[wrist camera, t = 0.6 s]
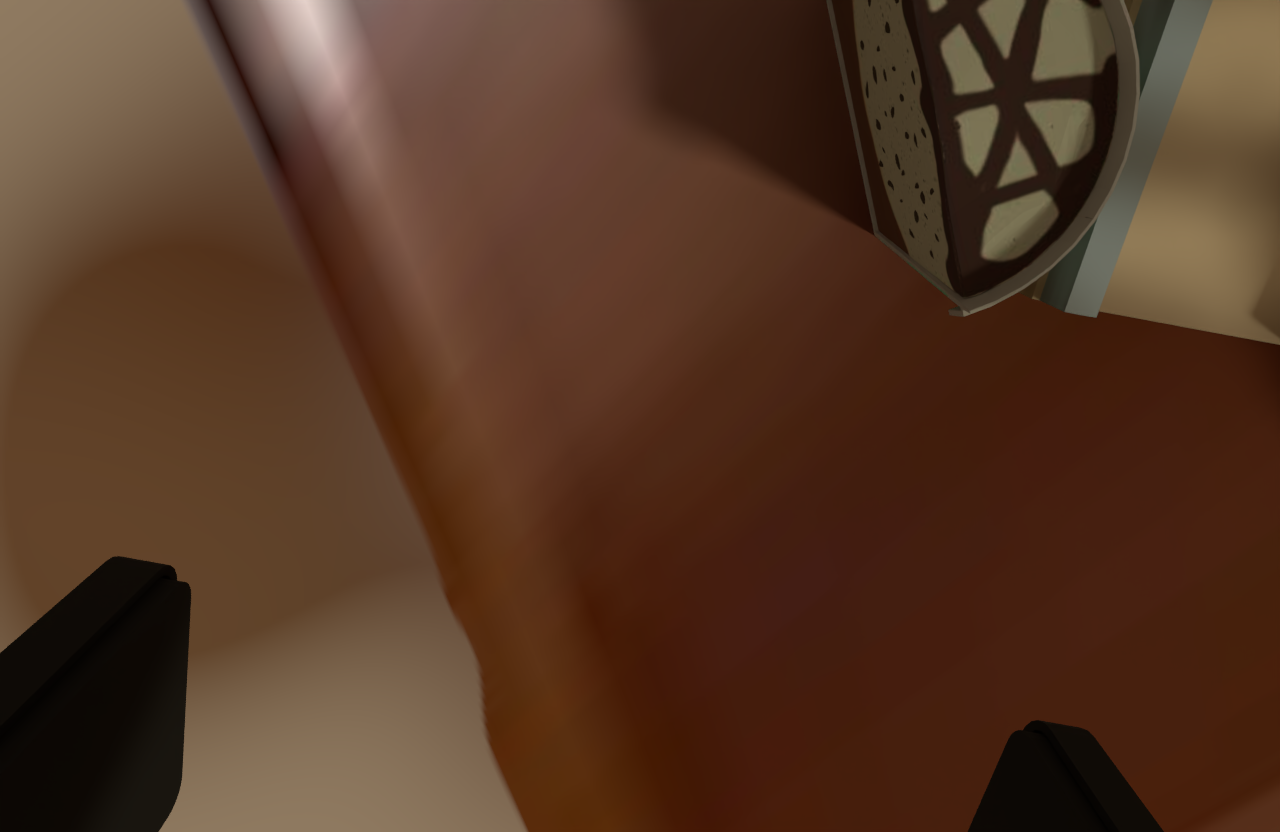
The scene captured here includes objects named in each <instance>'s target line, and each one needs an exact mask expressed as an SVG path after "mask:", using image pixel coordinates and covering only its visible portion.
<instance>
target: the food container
mask: <svg viewBox="0 0 1280 832" xmlns="http://www.w3.org/2000/svg"><path fill="white" fill-rule="evenodd" d="M826 2H827V7H828V12H829V16H830V21H831V26H832V31H833V36H834V41H835V46H836V50H837V55H838V60H839V65H840V70H841V75H842V80H843V84H844V89H845V94H846V99H847V104H848V109H849V114H850V118H851V123H852V128H853V133H854V138H855V143H856V148H857V152H858V157H859V162H860V167H861V172H862V177H863V182H864V186H865V191H866V196H867V201H868V206H869V211H870V216H871V220H872V225H873V230H874V235H875V236H876V237H877V238H878V239H879V240H880V241H882V242H883V243H884V244H885V245H886V246H888V247H889V248H890V249H891V250H892V251H894V252H895V253H896V254H897V255H898V256H900V257H901V258H902V259H903V260H904V261H906V262H907V263H908V264H909V265H910V266H912V267H913V268H914V269H915V270H916V271H918V272H919V273H920V274H921V275H922V276H923V277H925V278H926V279H927V280H928V281H929V282H931V283H932V284H933V285H934V286H935V287H937V288H938V289H939V290H940V291H941V292H943V293H944V294H945V295H946V296H947V297H949V298H950V299H951V300H952V301H953V302H955V303H956V304H957V305H958V307H955V308H953V309H950V310H948V311H949V314H950V315H954V316H963V317H964V316H967V315H969V314H972V313H975V312H978V311H980V310H983V309H986V308H988V307H991V306H993V305H995V304H997V303H999V302H1001V301H1002V300H1004V299H1006V298H1008V297H1010V296H1012V295H1014V294H1016V293H1017V292H1019V291H1021V290H1023V289H1025V288H1026V287H1027V286H1029V285H1030V284H1032V283H1033V282H1034V281H1036V280H1037V279H1038V278H1040V277H1041V276H1043V275H1044V274H1045V273H1047V272H1048V271H1049V270H1051V269H1052V268H1053V267H1054V266H1055V265H1056V264H1057V263H1058V262H1059V261H1060V260H1061V259H1062V258H1063V257H1064V256H1066V255H1067V254H1068V253H1069V252H1070V251H1071V250H1072V249H1073V248H1074V247H1075V246H1076V245H1077V243H1078V242H1079V241H1080V240H1081V238H1082V237H1083V236H1084V235H1085V233H1086V232H1087V231H1088V230H1089V228H1090V227H1091V226H1092V225H1093V223H1094V222H1095V221H1096V219H1097V218H1098V216H1099V214H1100V213H1101V211H1102V209H1103V208H1104V206H1105V204H1106V203H1107V201H1108V199H1109V198H1110V196H1111V194H1112V193H1113V191H1114V188H1115V186H1116V184H1117V181H1118V179H1119V177H1120V175H1121V172H1122V170H1123V168H1124V165H1125V163H1126V161H1127V157H1128V153H1129V150H1130V146H1131V143H1132V139H1133V135H1134V132H1135V128H1136V121H1137V113H1138V105H1139V98H1140V73H1139V56H1138V50H1137V45H1136V39H1135V34H1134V28H1133V25H1132V22H1131V19H1130V16H1129V13H1128V11H1127V8H1126V5H1125V2H1124V0H826Z"/></svg>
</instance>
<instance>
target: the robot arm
mask: <svg viewBox="0 0 1280 832" xmlns="http://www.w3.org/2000/svg"><path fill="white" fill-rule="evenodd" d="M190 606H191V589H190V586H189V584H188V583H186V582H181V581H177V575H176V572H175V569H174V568H173V567H172V566H170V565H165V564H159V563H154V562H148V561H143V560H137V559H132V558H126V557H120V556H118V557H112V558H111V559H109V560H107V561H106V562H105V563H104V564H102V565H101V566H100V567H99V568H98V569H97V570H96V571H94V572H93V573H92V574H91V575H90V576H89V577H87V578H86V579H85V580H84V581H83V582H82V583H80V584H79V585H78V586H77V587H76V588H75V589H74V590H72V591H71V592H70V593H69V594H68V595H67V596H65V597H64V598H63V599H62V600H61V601H60V602H59V603H57V604H56V605H55V606H54V607H53V608H52V609H51V610H49V611H48V612H47V613H46V614H45V615H44V616H43V617H41V618H40V619H39V620H38V621H37V622H36V623H34V624H33V625H32V626H31V627H30V628H29V629H27V630H26V631H25V632H24V633H23V634H22V635H21V636H20V637H18V638H17V639H16V640H15V641H14V642H12V643H11V644H10V645H9V646H8V647H7V648H6V649H4V650H3V651H2V652H1V653H0V832H158V831H159V830H160V829H161V827H162V825H163V824H164V822H165V821H166V819H167V818H168V816H169V814H170V813H171V811H172V809H173V806H174V804H175V802H176V799H177V796H178V793H179V790H180V786H181V780H182V767H183V747H184V745H183V744H184V727H185V707H186V687H187V667H188V647H189V627H190ZM968 832H1164V831H1163V830H1162V829H1161V827H1160V826H1159V824H1158V823H1157V822H1156V820H1155V819H1154V818H1153V816H1152V815H1151V814H1150V812H1149V811H1148V809H1147V808H1146V807H1145V805H1144V804H1143V803H1142V801H1141V800H1140V799H1139V797H1138V796H1137V795H1136V793H1135V792H1134V790H1133V789H1132V788H1131V786H1130V785H1129V784H1128V782H1127V781H1126V780H1125V778H1124V777H1123V776H1122V774H1121V773H1120V771H1119V770H1118V769H1117V767H1116V766H1115V765H1114V763H1113V762H1112V761H1111V759H1110V758H1109V756H1108V755H1107V754H1106V752H1105V751H1104V750H1103V748H1102V747H1101V746H1100V744H1099V743H1098V742H1097V740H1096V739H1095V737H1094V736H1093V735H1092V734H1091V733H1090V732H1089V731H1087V730H1085V729H1082V728H1079V727H1073V726H1067V725H1062V724H1056V723H1051V722H1045V721H1039V720H1036V721H1031V722H1030V723H1029V724H1028V725H1026V726H1025V728H1024V730H1023V731H1022V730H1018V731H1015V732H1014V733H1013V734H1011V736H1010V738H1009V739H1008V741H1007V744H1006V746H1005V748H1004V750H1003V753H1002V755H1001V757H1000V759H999V762H998V764H997V766H996V769H995V771H994V773H993V775H992V778H991V780H990V782H989V784H988V787H987V789H986V791H985V794H984V796H983V798H982V800H981V803H980V805H979V807H978V809H977V812H976V814H975V816H974V818H973V821H972V823H971V825H970V828H969V830H968Z"/></svg>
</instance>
